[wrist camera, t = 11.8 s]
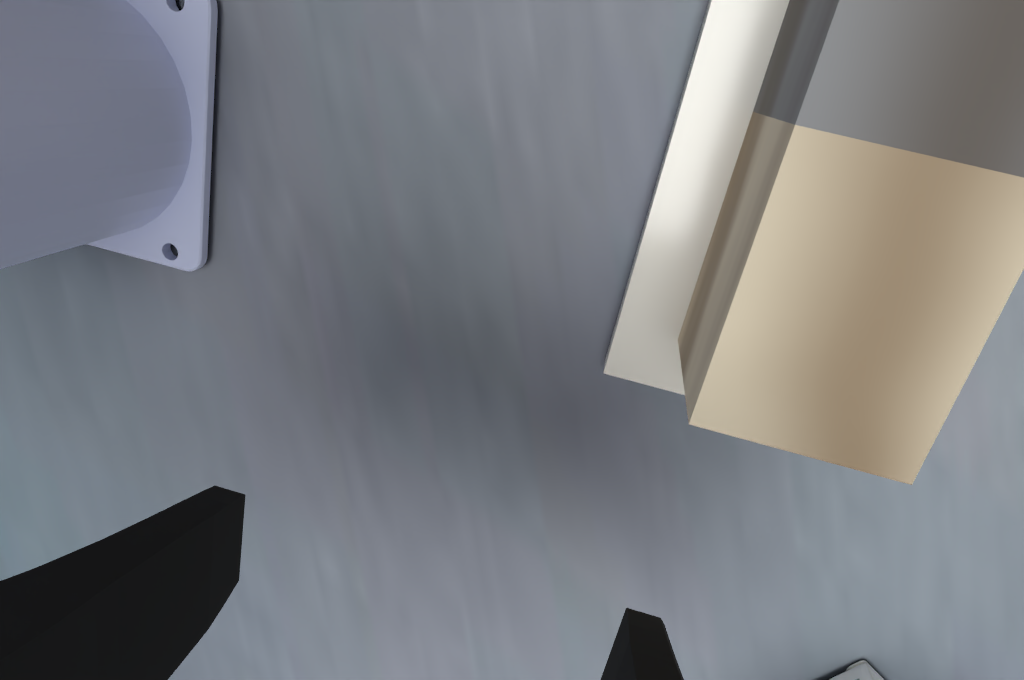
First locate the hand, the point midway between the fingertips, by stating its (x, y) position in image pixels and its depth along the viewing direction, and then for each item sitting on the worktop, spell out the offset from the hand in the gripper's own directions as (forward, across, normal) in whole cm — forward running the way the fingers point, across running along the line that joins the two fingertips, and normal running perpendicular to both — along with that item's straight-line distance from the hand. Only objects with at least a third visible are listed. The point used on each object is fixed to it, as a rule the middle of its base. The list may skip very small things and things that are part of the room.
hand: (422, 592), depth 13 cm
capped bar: (+8, -6, -8) cm, 13 cm away
